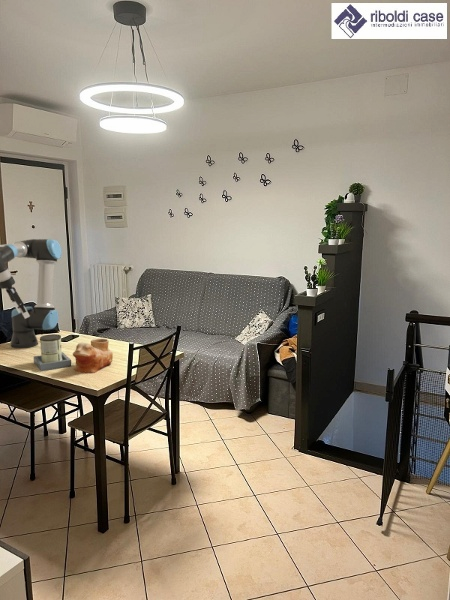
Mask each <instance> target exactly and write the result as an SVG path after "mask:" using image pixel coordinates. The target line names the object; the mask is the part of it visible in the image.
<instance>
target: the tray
mask: <svg viewBox="0 0 450 600" xmlns="http://www.w3.org/2000/svg"><path fill="white" fill-rule="evenodd" d="M33 363H34V364H35V366H36V367H37V369H38V370H39V371H40V372H46V371H52V370H58V369H64V368H70V367H72V359H70V357H68V356H67V355H66V354H65V353H64V352H63V351H62V361H56V362H50V363H42V357H41V354H39V355H34V356H33Z"/></svg>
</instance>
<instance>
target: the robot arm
mask: <svg viewBox="0 0 450 600" xmlns="http://www.w3.org/2000/svg"><path fill="white" fill-rule="evenodd" d="M16 257H17V258H18V259H19V258H20V259H21V258H24V259H26V258H27V259H36V260H35V261H36V263H38V272H37V273H38V274H37V277H38V278H37V299H36V304H35V305H34V306H25V303H24V302H23V300H22V299H21V297H20V295H19V293H18V292H17V290H16V288H15V287H14V285H15V284H16V280H15V279H14V277H13V276H12V273H11V272H10V269H9V268H8V266H7V264H8V263H9V262H11V261H12V260H14V259H15V258H16ZM61 257H62V247H61V245H60V243H59V241H57V239H51V238H50V239H49V238H48V239H46V238H45V239H43V238H42V239H41V238H40V239H39V238H37V239H36V238H35V239H34V238H31V239H25V240H24V239H23V240H20V241H15V242H14V243H6V244H0V289H2V290H4V289H5V291H6V293H7V295H8V296H9V299H10V301H11V303H13V305H14V307H15V308H14V309H13V310H12V311H11V323H12V336H11V341H10V347H11V348H14V349H25V348H26V349H27V348H31V347H35V346H37V345H39V342H38V341H39V340H38V338H37V336H36V334H35V330H53V329H54V328H56V326H57V324H58V322H59V319H60V318H59V312H58V310H56V307H55V306H54V304H53V299H54V298H53V297H54V295H53V294H54V278H55V265H56V264H57V263H58V260H59V259H60V258H61Z"/></svg>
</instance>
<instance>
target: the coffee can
mask: <svg viewBox="0 0 450 600" xmlns="http://www.w3.org/2000/svg"><path fill="white" fill-rule="evenodd" d="M39 339H40V352H41V353H40V355H41V357H42V363H50V362H56V361H62V352H63V350H62V335H60V334H54V333H53V334H46V335H42V336H40V337H39Z"/></svg>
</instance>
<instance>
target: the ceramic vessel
mask: <svg viewBox="0 0 450 600" xmlns="http://www.w3.org/2000/svg"><path fill="white" fill-rule="evenodd" d="M113 355H114V354H113V351H112V350H111V349H110V348H109V339H106V338H96V339H91V340H90V343H86V342H79V343H77V345H76V347H75V350H74V352H72V356H73V357H74V359H75V367H74V371H75V372H78V373H84V374H95V373H97V372H99V371H101V370H102V369H104V368H107V367H110V366H111V364H112V362H113Z"/></svg>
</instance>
